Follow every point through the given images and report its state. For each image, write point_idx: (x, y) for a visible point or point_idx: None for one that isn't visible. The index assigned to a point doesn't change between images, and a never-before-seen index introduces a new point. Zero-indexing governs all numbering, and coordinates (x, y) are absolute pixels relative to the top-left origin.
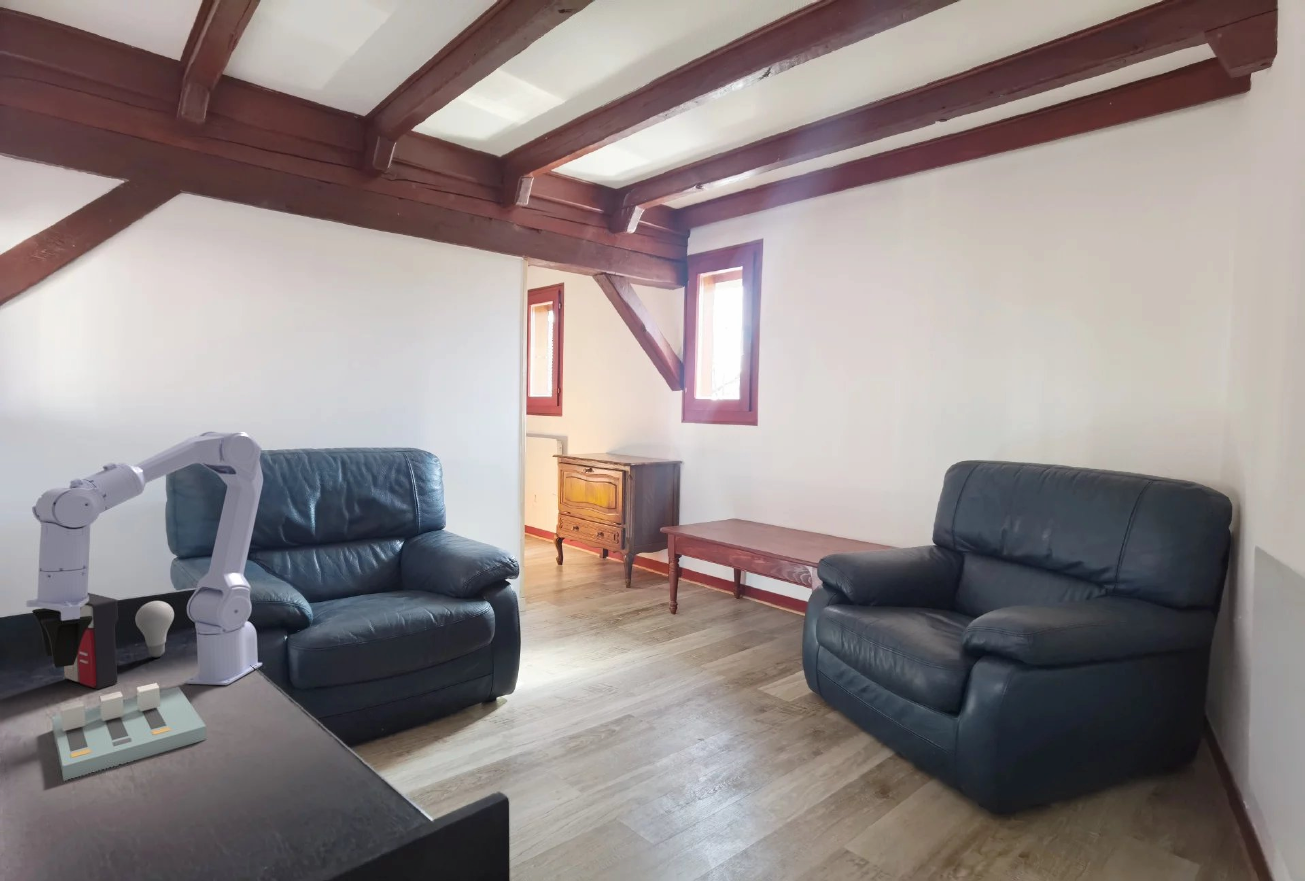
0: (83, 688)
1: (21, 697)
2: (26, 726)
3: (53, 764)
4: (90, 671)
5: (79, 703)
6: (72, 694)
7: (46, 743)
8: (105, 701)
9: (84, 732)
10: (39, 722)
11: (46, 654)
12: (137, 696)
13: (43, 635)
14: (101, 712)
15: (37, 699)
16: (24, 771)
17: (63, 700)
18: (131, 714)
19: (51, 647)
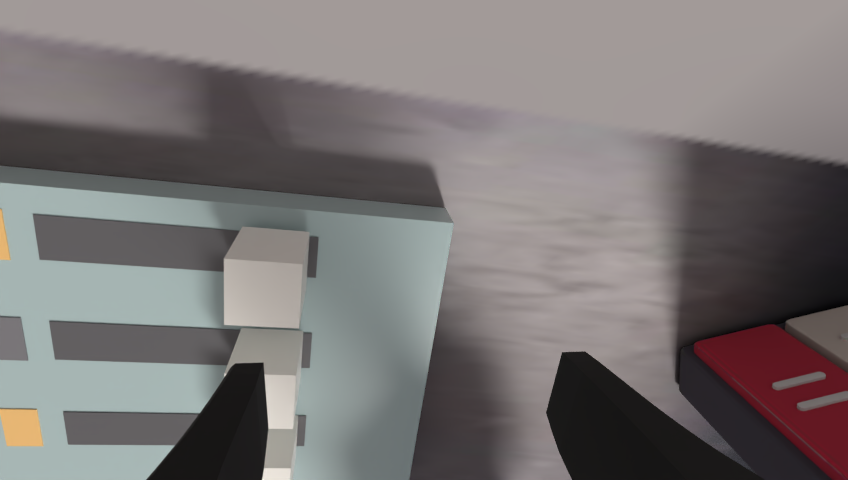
0: (731, 321)
1: (836, 187)
2: (556, 157)
3: (123, 161)
4: (737, 371)
5: (265, 316)
6: (711, 293)
7: (341, 176)
8: None
9: (202, 272)
10: (556, 190)
11: (585, 354)
12: (284, 443)
13: (648, 441)
14: (265, 342)
15: (769, 218)
16: (127, 86)
17: (685, 268)
18: None
19: (183, 464)
